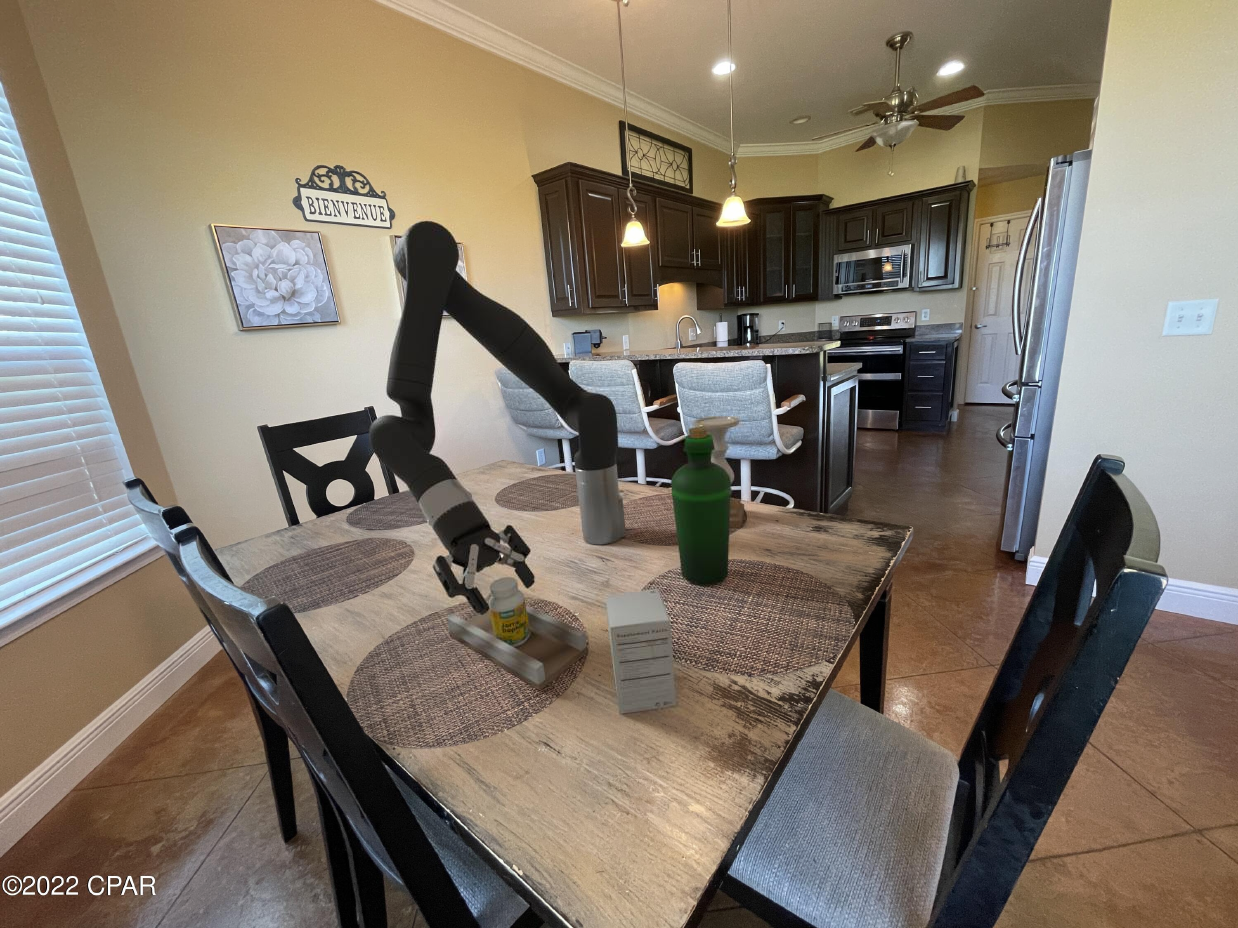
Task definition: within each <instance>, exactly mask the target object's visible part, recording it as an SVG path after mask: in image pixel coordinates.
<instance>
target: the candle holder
mask: <svg viewBox="0 0 1238 928" xmlns="http://www.w3.org/2000/svg"><path fill="white" fill-rule="evenodd" d="M739 419H740V418H737V417H733V416H709V417H703V418H698V419H695V421H693V425H694V428H695V427H706V428H708V430H707V434H710V435H712V438H713V442H714V446H715V450H713V451H712V454H711V462H713V463H715V464H717V465H719V466H720V467H722V468H724V469H725V471H726V472H727V473H728V475H729V476H730V480H731V484H733V481H734V480H735V473H734V471H733V469H732V467H731V466H730V464H729V463H728V461H727V460H726V453H727V452H728V450H730V449H729V447H730V446H729V445H728V444H727V442H726V440H725V439H726V438H725V437H726V435H727V433H728V432H729V430H730V428H734V427H737V426H738V425H739V424H740V420H739ZM732 493H733V489H732V488H731V492H730V522H729V529H740V528H741V527H743V521H744V517H745V503H742V502H741V501H742V500H741V499H740V498H733V497H731V495H732Z"/></svg>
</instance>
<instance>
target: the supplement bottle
mask: <svg viewBox="0 0 1238 928" xmlns="http://www.w3.org/2000/svg"><path fill="white" fill-rule="evenodd" d="M489 589H490V593H491V595H492V597H491V598H490V599H489V600H488V605H489V609H490V614H491V619H492V625H493V630H494V635H495V637H496V638H497V639H499V640H501V641H503V642H505V643H506V644H508V645H510V646H512V647H517V646H520V645H522V644H523V643H525V642H526V641H527V639H528V638H529V636H530V627H529V621H528V616H527V610H526V606H527V605H526V598H525V594H524V593H523V591H521V590H520V589H519V584H518V580H517V579H516V578H514V577H511V576H506V577H501V578H498V579H496V580H494V581H492V583H491V584H490V585H489Z"/></svg>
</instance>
